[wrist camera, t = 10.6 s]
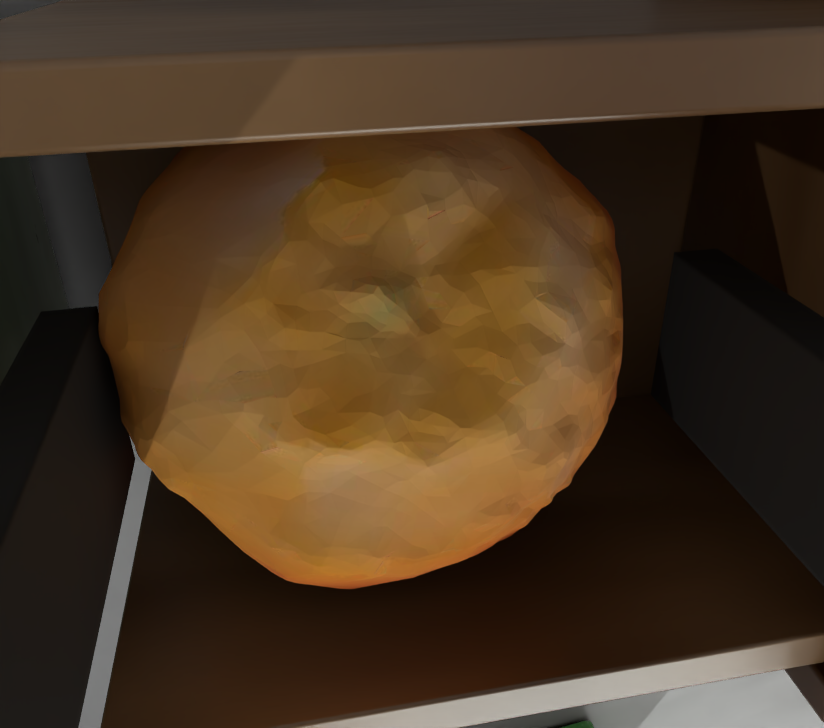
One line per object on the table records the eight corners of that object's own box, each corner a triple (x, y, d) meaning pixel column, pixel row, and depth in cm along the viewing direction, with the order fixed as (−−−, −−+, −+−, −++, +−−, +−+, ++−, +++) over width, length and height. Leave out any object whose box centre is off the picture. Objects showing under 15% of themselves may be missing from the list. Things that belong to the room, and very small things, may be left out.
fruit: (192, 560, 16) (77, 689, 8) (159, 206, 17) (23, 12, 9) (547, 512, 17) (740, 585, 10) (506, 181, 18) (657, -10, 10)
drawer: (-126, 510, 18) (-410, 933, 10) (-392, -37, 12) (-1486, 1, 4) (656, 414, 21) (888, 687, 13) (739, -62, 15) (1233, -66, 7)
